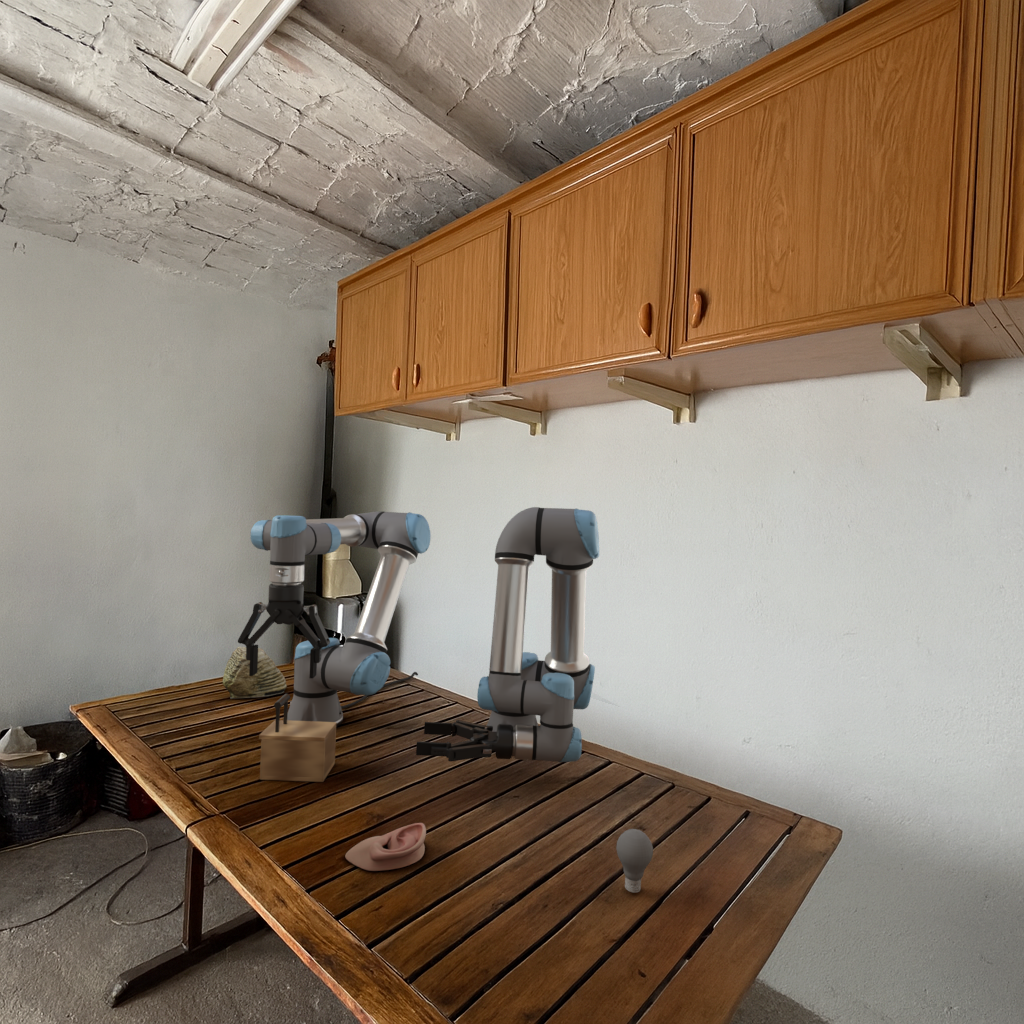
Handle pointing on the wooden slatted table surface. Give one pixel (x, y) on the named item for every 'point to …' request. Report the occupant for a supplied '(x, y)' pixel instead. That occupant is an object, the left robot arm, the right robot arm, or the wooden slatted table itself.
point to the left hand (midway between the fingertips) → (283, 675)
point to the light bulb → (634, 857)
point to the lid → (295, 727)
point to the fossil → (252, 686)
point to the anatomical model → (390, 849)
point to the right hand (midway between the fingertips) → (420, 737)
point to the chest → (297, 759)
